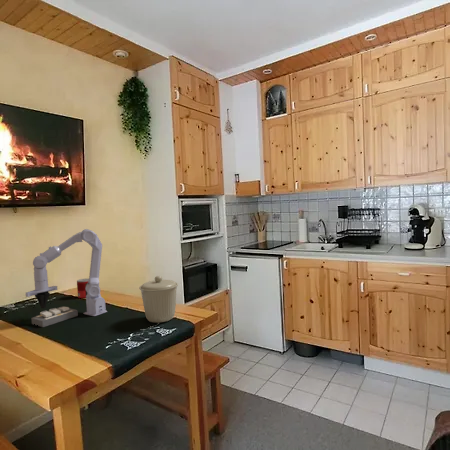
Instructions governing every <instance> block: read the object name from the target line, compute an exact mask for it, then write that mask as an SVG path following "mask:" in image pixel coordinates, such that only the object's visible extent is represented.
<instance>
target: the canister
mask: <svg viewBox="0 0 450 450" xmlns="http://www.w3.org/2000/svg"><path fill="white" fill-rule="evenodd" d="M178 285H179V283H178V282H176V281H174V280H171V279H163V277H162V276H161V275H156V276H155V277H154V280H151V281H150V280H149V281H146V282H144V283H142V285H140V286H139V290H140V292H141V293H140V294H141V298H142V305H143V310H144V314H145V317H146V319H147V321H149V322H150V323H159V324H160V323H166V322H168V321H170V320H172V319H173V318H174V317H175V313H176V303H177V287H178Z"/></svg>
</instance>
